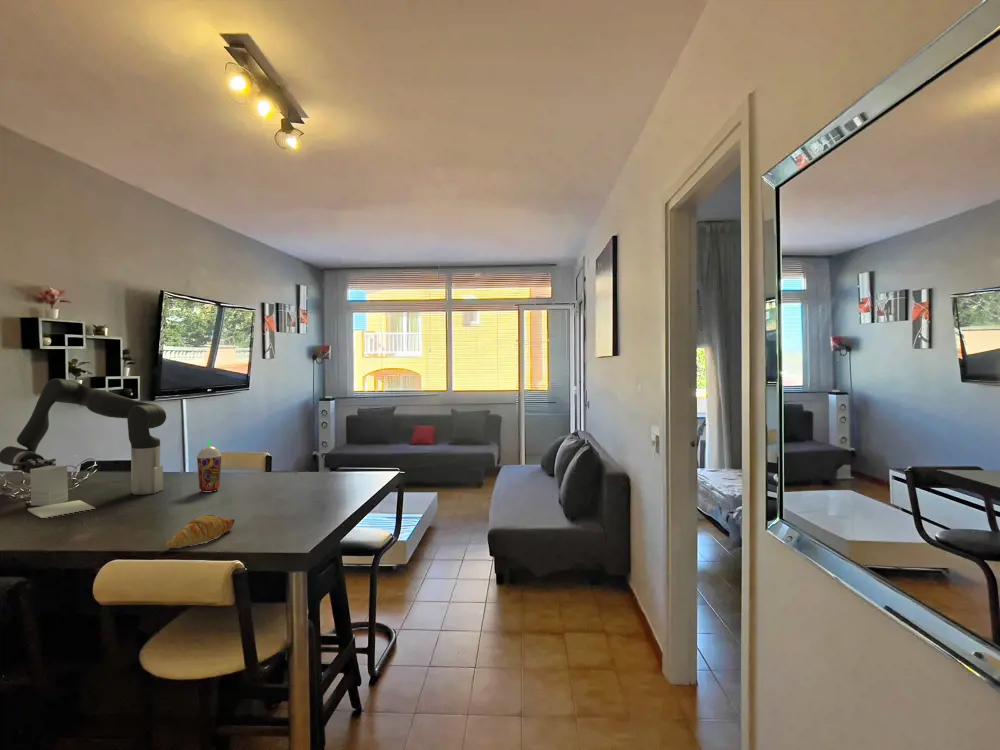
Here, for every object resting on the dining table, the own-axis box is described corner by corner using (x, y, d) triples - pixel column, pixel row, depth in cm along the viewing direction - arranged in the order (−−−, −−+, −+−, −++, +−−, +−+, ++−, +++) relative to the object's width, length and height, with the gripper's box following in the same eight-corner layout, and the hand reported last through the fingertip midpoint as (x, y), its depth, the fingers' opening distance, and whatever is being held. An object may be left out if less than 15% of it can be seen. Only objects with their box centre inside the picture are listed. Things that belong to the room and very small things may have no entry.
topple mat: (27, 510, 178) (27, 508, 178) (79, 501, 189) (79, 500, 189) (41, 519, 168) (41, 517, 168) (95, 509, 180) (95, 507, 180)
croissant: (175, 566, 140) (185, 541, 138) (150, 544, 143) (159, 520, 141) (239, 539, 160) (249, 517, 158) (216, 520, 163) (225, 498, 161)
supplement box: (68, 500, 190) (68, 465, 190) (49, 506, 183) (48, 469, 182) (50, 500, 191) (49, 464, 191) (29, 505, 184) (29, 469, 183)
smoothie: (214, 493, 201) (214, 440, 201) (192, 493, 201) (191, 440, 201) (226, 488, 210) (225, 437, 209) (205, 488, 210) (204, 437, 209)
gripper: (4, 454, 197) (17, 459, 186) (50, 449, 207) (64, 454, 197) (5, 474, 197) (17, 481, 186) (50, 468, 207) (64, 474, 197)
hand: (41, 467), depth 192 cm, fingers closed
